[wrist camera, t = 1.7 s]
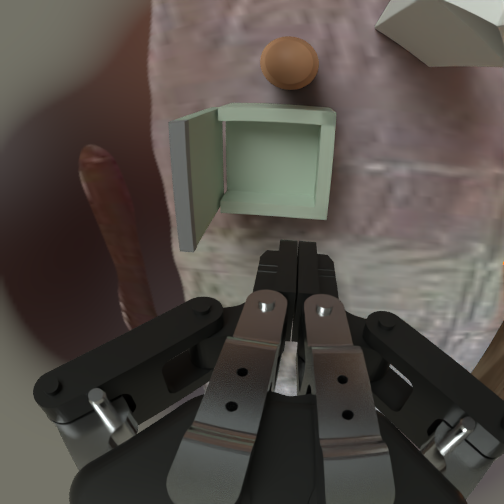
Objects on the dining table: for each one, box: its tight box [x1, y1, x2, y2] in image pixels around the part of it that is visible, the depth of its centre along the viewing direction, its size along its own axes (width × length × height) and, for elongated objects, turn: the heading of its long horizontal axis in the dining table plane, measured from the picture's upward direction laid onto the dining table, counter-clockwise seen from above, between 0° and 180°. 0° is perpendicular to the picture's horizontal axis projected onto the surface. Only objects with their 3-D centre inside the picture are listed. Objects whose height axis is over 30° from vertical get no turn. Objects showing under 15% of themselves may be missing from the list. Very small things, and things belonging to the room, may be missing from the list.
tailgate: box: [169, 107, 224, 252], centre depth 25 cm, size 1×10×11 cm, turn 0°
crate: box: [218, 103, 336, 220], centre depth 29 cm, size 10×10×6 cm
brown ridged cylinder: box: [260, 37, 319, 90], centre depth 24 cm, size 5×5×8 cm
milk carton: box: [374, 0, 504, 67], centre depth 14 cm, size 7×7×19 cm
